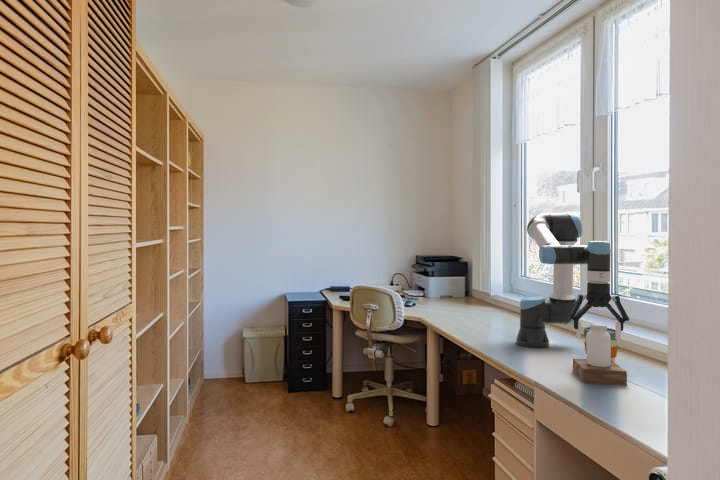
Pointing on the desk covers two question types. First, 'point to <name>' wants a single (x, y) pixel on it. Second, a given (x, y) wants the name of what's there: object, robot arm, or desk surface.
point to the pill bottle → (598, 346)
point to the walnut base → (599, 373)
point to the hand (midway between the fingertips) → (598, 338)
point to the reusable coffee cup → (613, 341)
